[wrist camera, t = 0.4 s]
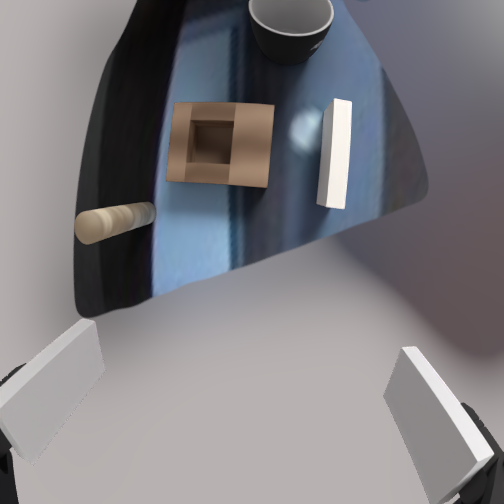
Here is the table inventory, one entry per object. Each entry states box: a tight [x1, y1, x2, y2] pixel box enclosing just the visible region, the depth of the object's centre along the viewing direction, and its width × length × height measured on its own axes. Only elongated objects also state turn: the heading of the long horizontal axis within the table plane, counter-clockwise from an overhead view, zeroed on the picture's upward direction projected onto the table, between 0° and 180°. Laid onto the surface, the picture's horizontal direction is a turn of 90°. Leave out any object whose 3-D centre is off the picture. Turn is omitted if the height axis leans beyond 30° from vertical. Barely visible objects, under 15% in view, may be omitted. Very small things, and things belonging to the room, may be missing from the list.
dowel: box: [74, 202, 156, 244], centre depth 29 cm, size 3×3×14 cm
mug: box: [248, 0, 334, 65], centre depth 24 cm, size 12×9×10 cm
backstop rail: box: [316, 98, 352, 209], centre depth 30 cm, size 12×2×6 cm, turn 175°
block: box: [166, 102, 274, 188], centre depth 31 cm, size 9×11×4 cm
